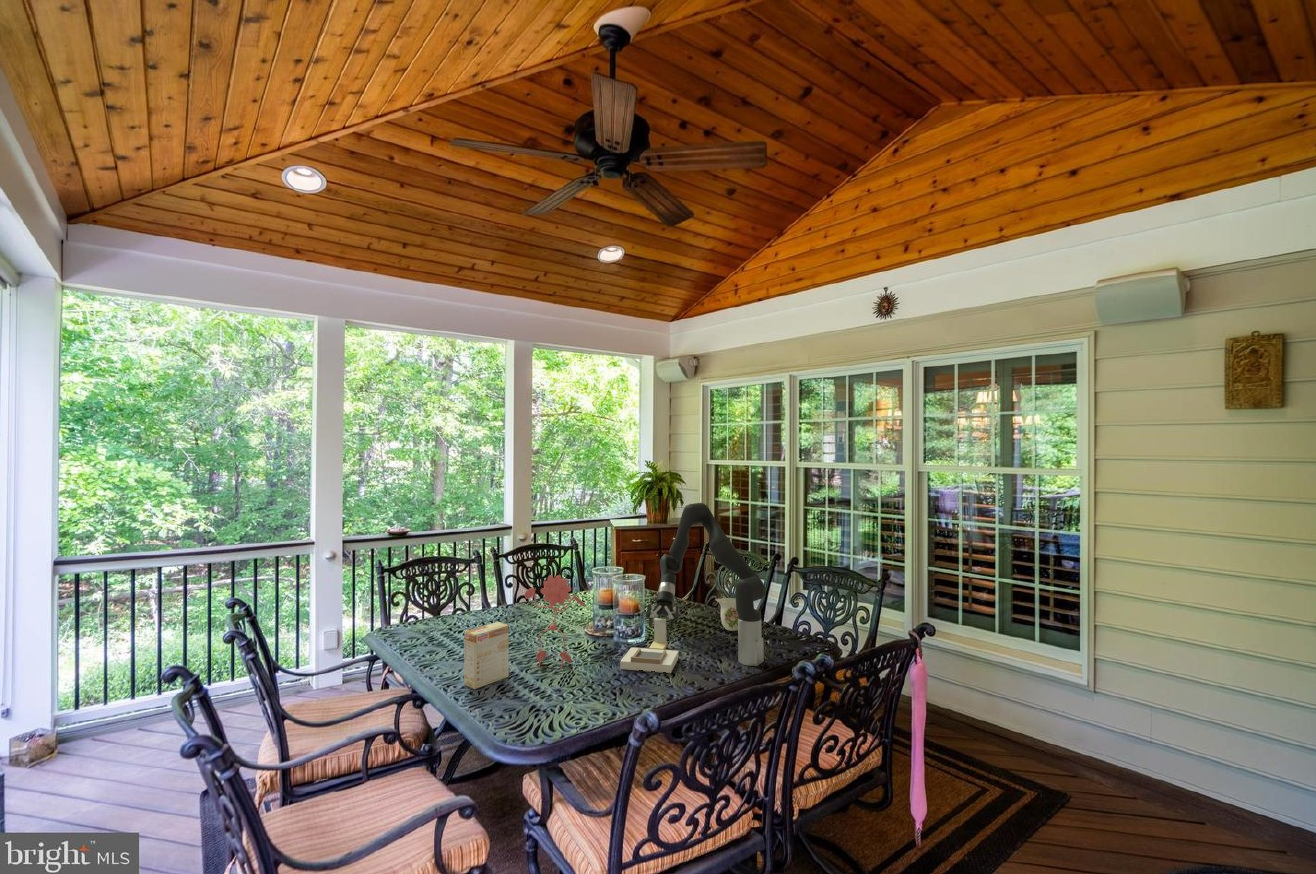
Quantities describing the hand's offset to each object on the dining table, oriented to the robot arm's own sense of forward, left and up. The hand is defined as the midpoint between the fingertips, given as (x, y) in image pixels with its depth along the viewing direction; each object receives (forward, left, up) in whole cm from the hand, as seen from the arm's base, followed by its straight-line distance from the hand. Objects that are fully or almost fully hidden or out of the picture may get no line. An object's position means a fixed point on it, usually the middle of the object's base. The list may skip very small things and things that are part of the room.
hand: (660, 628), depth 251 cm
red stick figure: (+25, +38, -9) cm, 46 cm away
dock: (-7, +18, -8) cm, 21 cm away
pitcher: (-14, -41, -9) cm, 44 cm away
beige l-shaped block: (-2, +4, -8) cm, 9 cm away
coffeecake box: (+33, +66, -9) cm, 74 cm away
